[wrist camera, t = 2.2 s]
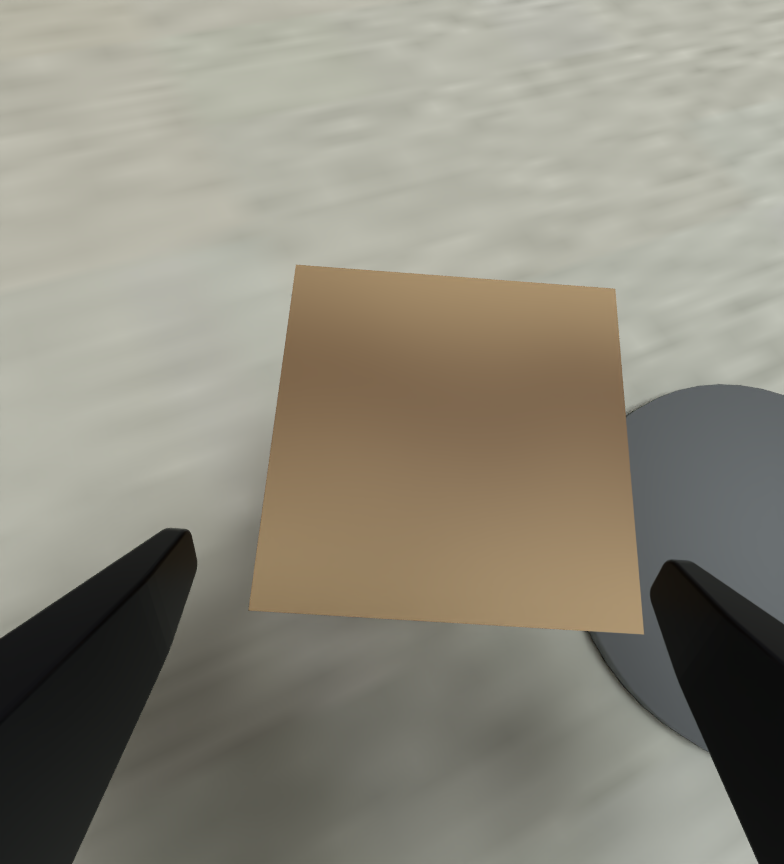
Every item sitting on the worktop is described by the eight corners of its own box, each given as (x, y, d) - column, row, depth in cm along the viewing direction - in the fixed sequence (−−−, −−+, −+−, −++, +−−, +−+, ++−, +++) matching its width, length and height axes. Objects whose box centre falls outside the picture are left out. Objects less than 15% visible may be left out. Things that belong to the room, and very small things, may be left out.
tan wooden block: (472, 580, 17) (644, 634, 6) (330, 571, 16) (248, 610, 6) (474, 442, 18) (615, 288, 7) (343, 433, 18) (295, 264, 7)
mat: (992, 585, 17) (1020, 587, 16) (776, 866, 14) (799, 884, 14) (719, 332, 20) (733, 323, 19) (493, 531, 17) (499, 531, 16)
